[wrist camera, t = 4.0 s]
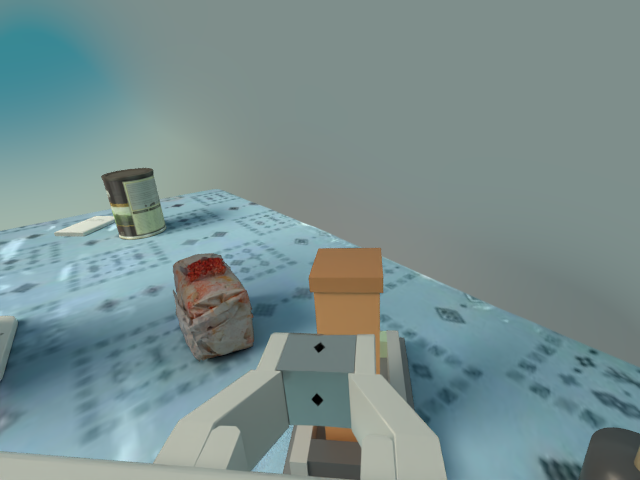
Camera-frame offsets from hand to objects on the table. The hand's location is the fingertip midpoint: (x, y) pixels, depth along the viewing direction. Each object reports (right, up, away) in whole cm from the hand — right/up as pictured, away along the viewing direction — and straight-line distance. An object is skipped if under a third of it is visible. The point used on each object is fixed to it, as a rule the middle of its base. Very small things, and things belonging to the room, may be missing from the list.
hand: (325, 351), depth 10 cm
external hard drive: (-59, +6, +79) cm, 99 cm away
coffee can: (-42, +5, +72) cm, 84 cm away
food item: (-13, -8, +33) cm, 37 cm away
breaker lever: (+3, -12, +18) cm, 22 cm away
